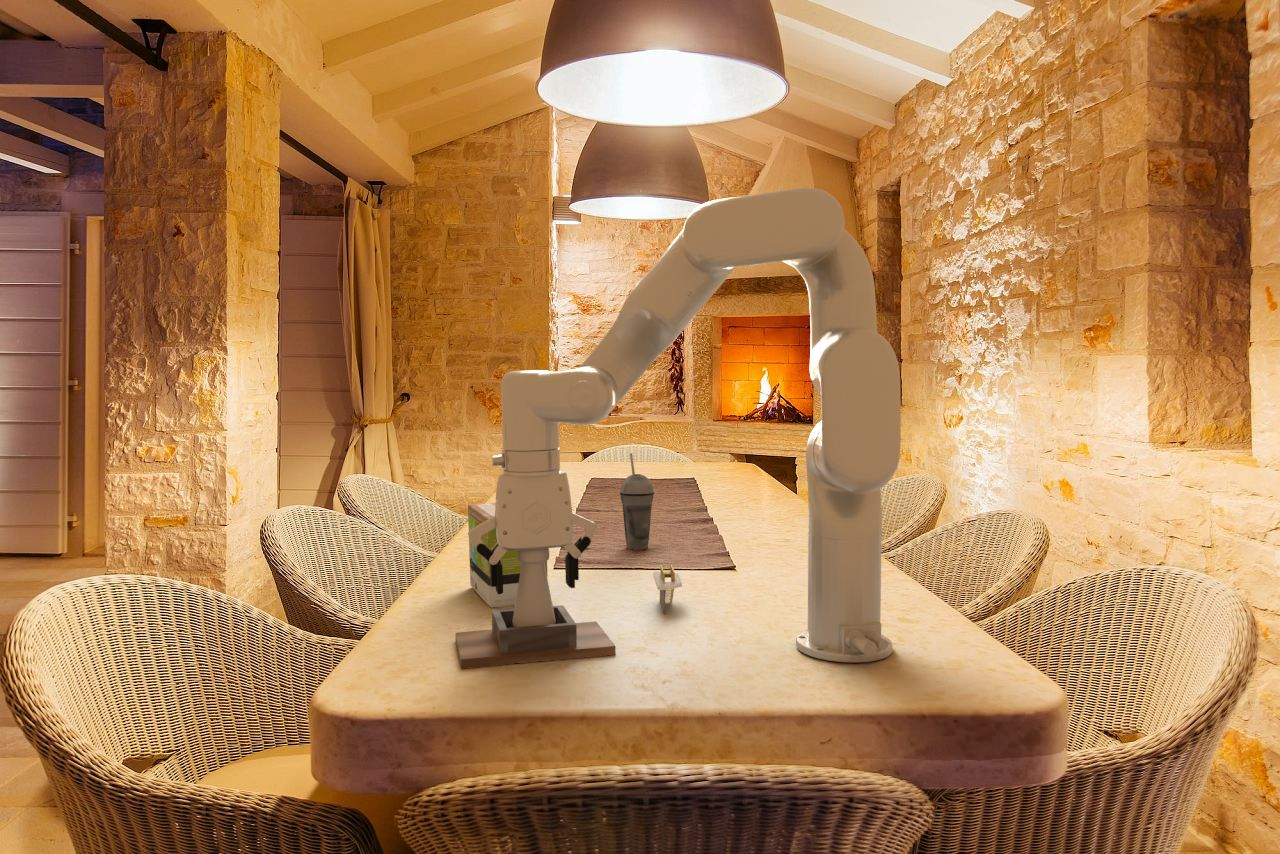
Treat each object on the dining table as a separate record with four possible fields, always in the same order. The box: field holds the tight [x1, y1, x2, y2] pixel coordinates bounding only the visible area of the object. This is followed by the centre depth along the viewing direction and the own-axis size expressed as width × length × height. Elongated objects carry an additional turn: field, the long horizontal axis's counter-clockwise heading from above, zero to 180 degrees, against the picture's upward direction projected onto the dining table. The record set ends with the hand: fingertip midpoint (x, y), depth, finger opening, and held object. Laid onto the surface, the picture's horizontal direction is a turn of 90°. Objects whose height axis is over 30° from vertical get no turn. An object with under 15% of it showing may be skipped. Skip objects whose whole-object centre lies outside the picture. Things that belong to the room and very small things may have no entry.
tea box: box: [467, 502, 548, 609], centre depth 150 cm, size 15×10×15 cm, turn 23°
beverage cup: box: [619, 452, 655, 551], centre depth 189 cm, size 7×7×20 cm
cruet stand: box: [454, 604, 617, 669], centre depth 122 cm, size 12×20×4 cm, turn 105°
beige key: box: [652, 564, 683, 615], centre depth 142 cm, size 12×18×7 cm, turn 4°
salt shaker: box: [512, 548, 556, 627], centre depth 121 cm, size 6×6×13 cm
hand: (535, 588), depth 121 cm, fingers open, 9 cm apart
